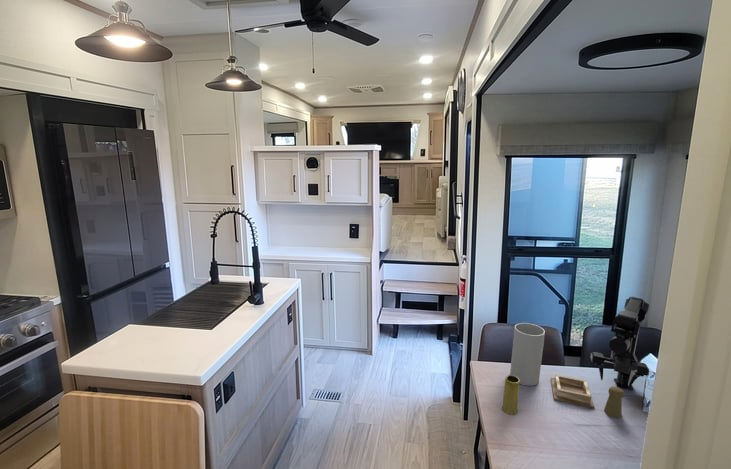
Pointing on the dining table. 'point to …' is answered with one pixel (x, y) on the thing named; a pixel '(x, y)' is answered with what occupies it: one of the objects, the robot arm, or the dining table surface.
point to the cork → (614, 402)
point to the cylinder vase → (527, 353)
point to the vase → (511, 395)
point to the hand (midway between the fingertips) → (615, 383)
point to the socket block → (571, 391)
